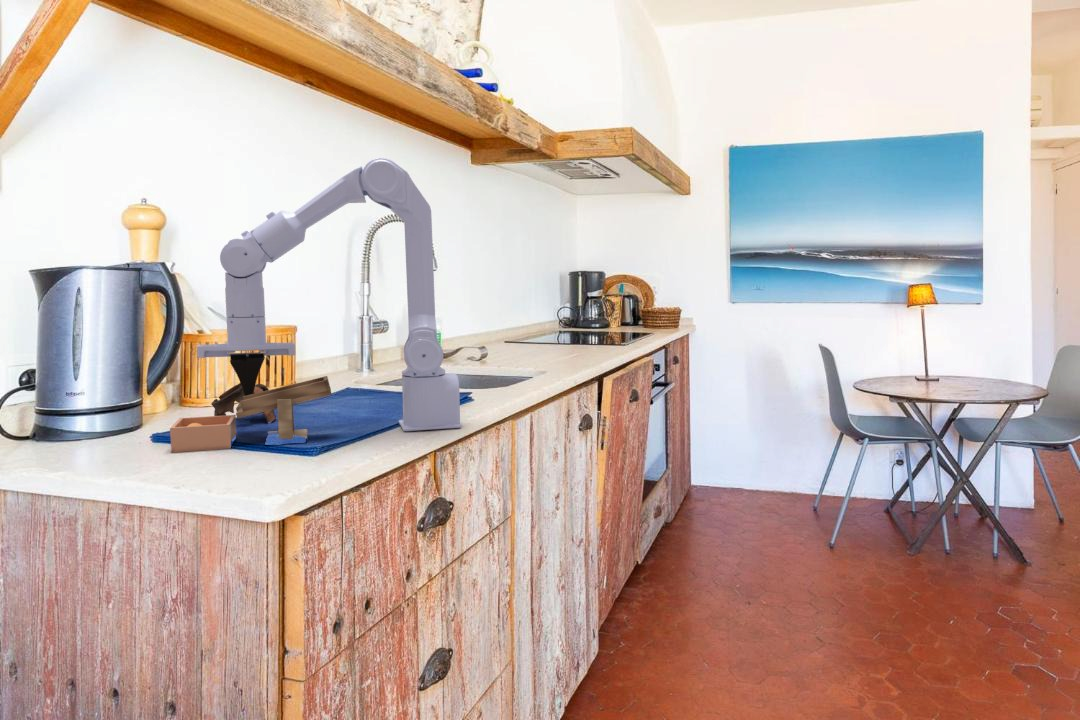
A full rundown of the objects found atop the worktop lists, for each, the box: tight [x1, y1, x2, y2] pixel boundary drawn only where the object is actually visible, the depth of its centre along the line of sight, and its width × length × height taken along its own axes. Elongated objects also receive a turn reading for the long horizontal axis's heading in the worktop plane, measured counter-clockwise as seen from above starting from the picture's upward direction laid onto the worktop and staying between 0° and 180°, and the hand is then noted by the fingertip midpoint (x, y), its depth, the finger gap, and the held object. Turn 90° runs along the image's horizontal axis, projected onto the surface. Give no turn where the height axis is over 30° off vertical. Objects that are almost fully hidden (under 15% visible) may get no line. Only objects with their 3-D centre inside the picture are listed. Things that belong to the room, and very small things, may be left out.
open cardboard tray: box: [169, 414, 237, 454], centre depth 110 cm, size 8×8×4 cm
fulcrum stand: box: [267, 399, 308, 439], centre depth 113 cm, size 6×8×7 cm
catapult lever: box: [235, 375, 332, 419], centre depth 115 cm, size 14×11×2 cm
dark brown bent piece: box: [210, 382, 277, 423], centre depth 128 cm, size 12×10×8 cm
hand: (249, 401), depth 117 cm, fingers closed, pressing on catapult lever
